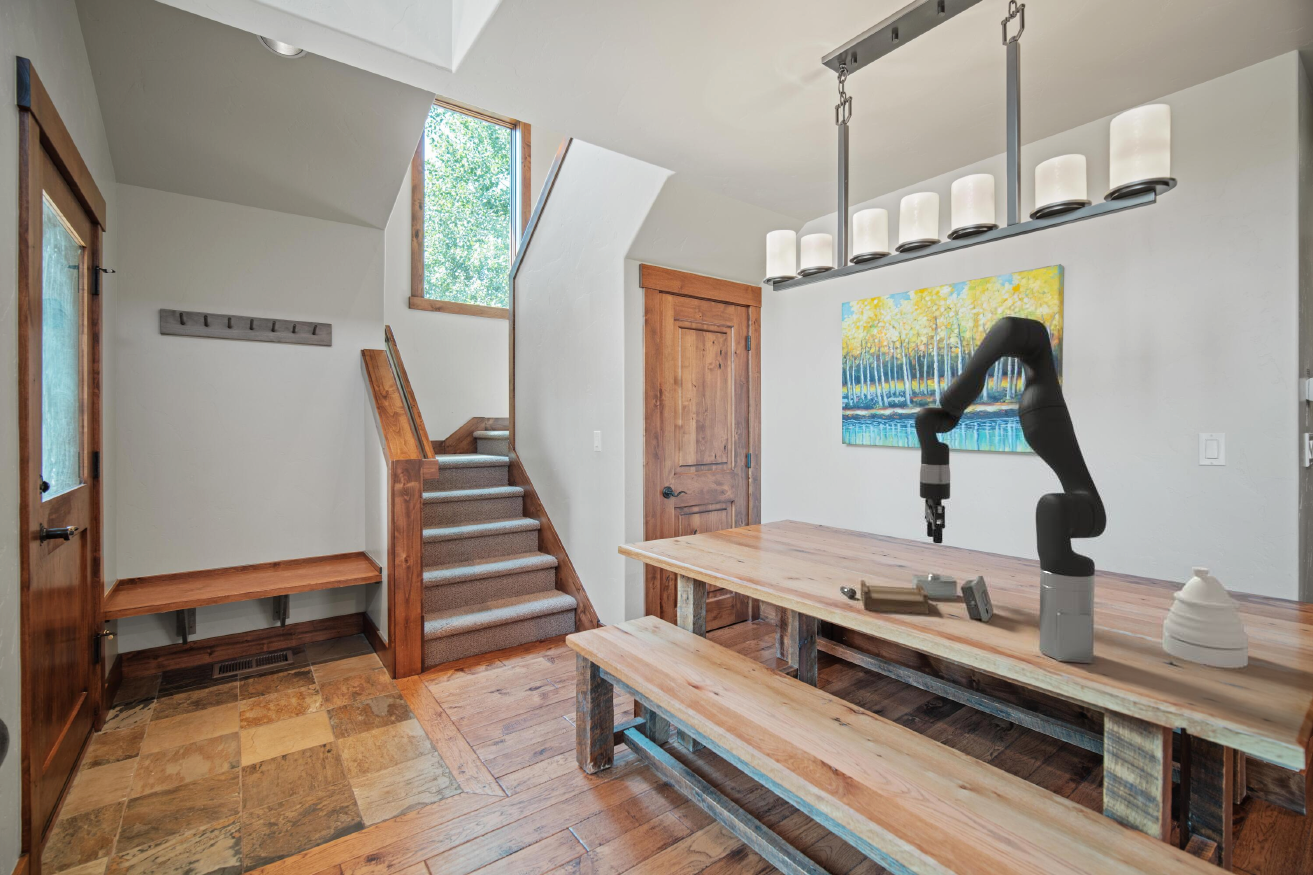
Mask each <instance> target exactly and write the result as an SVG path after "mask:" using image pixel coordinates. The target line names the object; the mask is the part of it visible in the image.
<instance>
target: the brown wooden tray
mask: <svg viewBox="0 0 1313 875" xmlns="http://www.w3.org/2000/svg"><path fill="white" fill-rule="evenodd" d="M860 598H861V602H862V605H863V610H865V611H881V612H882V611H883V612H894V611H900V612H899V613H909V612H912V614H924V615H925V614H927V615H928V614H929V601H928V600H929V598H928V595H927V593H926V592H925V590H924V589H923V587H922V586H921V584H920V583H916V588H912V587H901V586H884V585H868V584H867V583H866V581H865V580H864V579H860ZM901 611H903V612H901Z"/></svg>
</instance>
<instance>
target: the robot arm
mask: <svg viewBox="0 0 1313 875" xmlns="http://www.w3.org/2000/svg"><path fill="white" fill-rule="evenodd" d="M977 346H978V347H977V348H976V350H974V353H973V354H972V355H971V357H970V359H969V361H968V362H967V363H966V365H965V367H964V368H963V370H962V371H961V373H959V375H958V376H956V378H955V379H954V381H952V383H950V385H948V386H947V387H946V389H945V390H944V391H943V392H942V393H941V395H940V396H939V400H938V402H939V405H940V407H923V408H920V409H919V410H918V411H917V413H916V415H915V418H914V428H915V433H916V435H917V436H916V437H917V438H918V440H917V441H918V443H919V445H920V446H919V447H920V450H921V451H920V470H919V497H920V498H922V499H925V500H924V505H925V506H924V508H925V509H924V519H925V522H926V536H927V537H928V538H932V542H933V544H942V543H943V530H944V529H945V528H946V511H945V510H946V505H943V503H942V500H946V501H947V500H949V499H951V468H950V445H949V444H947V443H945V442H942V441H939V439H938V438H939V437H938V435H937V434H947V433H949V432H952V430H954V429H955V428H956V427H957V426H958V424H960V421H961V419H962V417H963V416H964V412H965V411H966V410H967V409H968V408H969V407H970V406H971V405H973V403H974V402H975V401H976V400H977V399H978V398H979V397H980V396H981V394H982V393H983V391H984V388H985V385H986V380H987V375H988V373H989V370H990V369H991V368H992V366H994V364H996V363H997V362H999V361H1000V360H1001V359H1003V357H1004V358H1013V359H1018V360H1019V362H1020V364H1021V367H1022V370H1023V374H1024V378H1025V385H1024V389H1023V391H1022V393H1021V397H1020V400H1019V403H1018V406H1017V407H1018V408H1017V415H1018V421H1019V424H1020V427H1021V431H1022V433H1023V434H1022V435H1023V437H1024V440H1025V441H1026V443H1027V444H1028V446H1029V447H1030V448H1031V450H1032V451H1033V452H1034V453H1035V454H1036V455H1037V456H1038V457H1039V458H1040V459H1042V461H1043V462H1045V464H1046V465H1047V466H1049V468H1050V469H1052V471H1053V472H1054V473H1055V475H1056V476H1057V478H1058V480H1059V482H1060V484H1061V487H1062V489H1063V492H1051V493H1046V494H1043V495H1042V496H1041V497H1040V498H1039V500H1037V504H1036V508H1035V531H1036V534H1035V535H1036V550H1037V555H1038V558H1039V562H1040V563H1039V569H1040V570H1039V572H1040V574H1039V627H1038V628H1039V630H1038V631H1039V633H1038V634H1039V635H1038V636H1039V642H1038V643H1039V644H1038V648H1039V651H1040V652H1041V653H1042V654H1044V655H1045V656H1048V657H1050V658H1052V659H1055V660H1056V661H1057V662H1071V663H1080V664H1081V663H1082V664H1093V662H1094V648H1095V647H1094V641H1095V640H1094V639H1095V638H1094V636H1095V634H1094V630H1095V584H1096V583H1095V580H1096V579H1095V577H1096V576H1095V574H1096V570H1095V569H1096V568H1095V567H1096V566H1095V562H1094V560H1093V559H1092V558H1090V557H1088V556H1086V555H1083V554H1080V553H1077V552H1075V551H1074V550H1073V547H1072V539H1090V538H1098V537H1100V536H1101V535H1102V534H1103V533H1104V531H1105V530H1106V526H1107V514H1106V509H1105V506H1104V505H1105V504H1104V502H1103V500H1102V497H1101V495H1100V494H1099V491H1098V488H1097V487H1096V484H1095V482H1094V480H1093V477H1092V476H1091V473H1090V471H1089V468H1088V466H1087V464H1086V462H1085V458H1084V456H1083V454H1082V451H1081V447H1080V444H1079V441H1078V438H1077V436H1076V432H1075V428H1074V424H1073V421H1072V418H1071V414H1070V412H1069V409H1068V406H1067V403H1066V401H1065V398H1064V394H1063V391H1062V388H1061V384H1060V380H1059V377H1058V374H1057V370H1056V369H1057V368H1056V365H1055V359H1054V355H1053V354H1054V353H1053V347H1052V343H1051V338H1050V333H1049V331H1048V328H1047V326H1046V325H1045V324H1044V323H1043V322H1041V321H1039V320H1037V319H1032V318H1027V317H1022V316H1021V317H1020V316H1019V317H1018V316H1004V317H1001V318H1000V319H998V320H997V321H996V322H994V323H993V325H992V326H991V327H990V329H989V330H988V331H987V333H986V334H985V336H984V337H983V339H982V341H981V342H980V344H979V345H977Z"/></svg>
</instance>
